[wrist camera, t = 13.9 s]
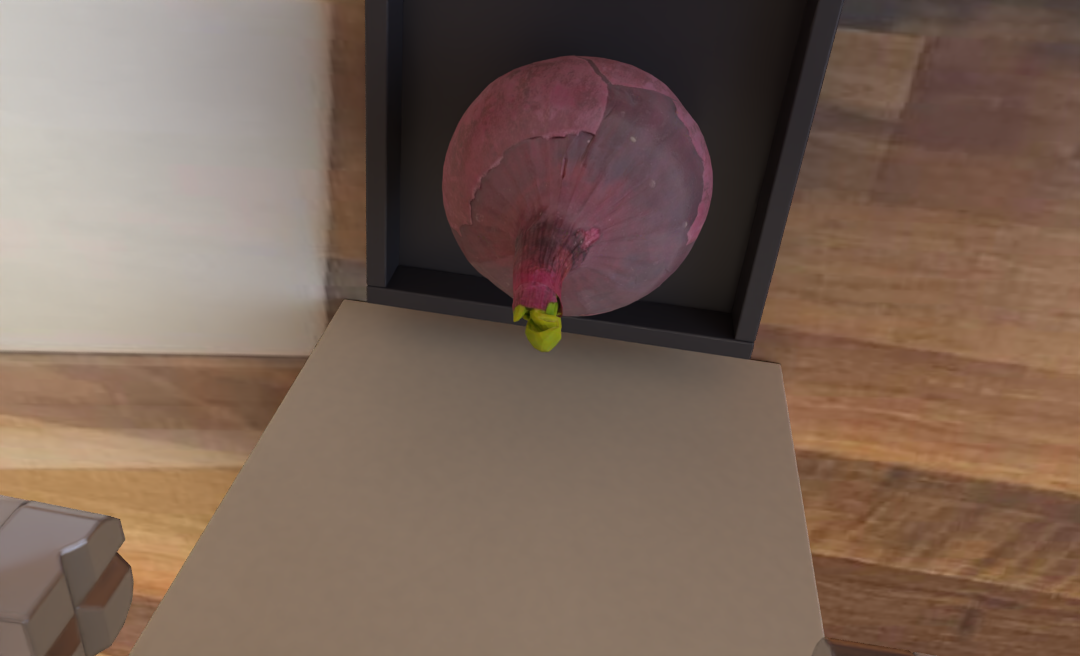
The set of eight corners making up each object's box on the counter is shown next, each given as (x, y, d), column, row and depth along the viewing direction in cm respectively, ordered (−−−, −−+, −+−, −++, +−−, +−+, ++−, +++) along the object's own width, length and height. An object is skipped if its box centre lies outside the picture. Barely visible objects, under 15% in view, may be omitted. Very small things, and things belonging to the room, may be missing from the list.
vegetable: (434, 148, 26) (316, 341, 18) (565, -39, 23) (498, 87, 15) (606, 271, 27) (573, 505, 19) (751, 110, 24) (788, 303, 16)
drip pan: (390, -128, 23) (363, -117, 21) (844, -72, 23) (859, -55, 21) (386, 266, 29) (366, 303, 27) (745, 319, 29) (750, 361, 27)
